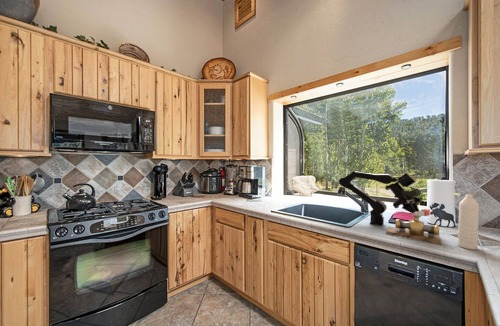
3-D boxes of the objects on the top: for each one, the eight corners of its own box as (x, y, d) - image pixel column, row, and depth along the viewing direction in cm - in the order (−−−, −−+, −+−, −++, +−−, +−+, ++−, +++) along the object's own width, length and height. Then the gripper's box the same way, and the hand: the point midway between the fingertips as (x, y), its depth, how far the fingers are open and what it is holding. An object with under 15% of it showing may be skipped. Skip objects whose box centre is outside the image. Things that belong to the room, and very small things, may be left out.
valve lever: (418, 218, 111) (418, 212, 111) (411, 216, 113) (411, 211, 113) (430, 215, 116) (430, 210, 116) (423, 214, 119) (423, 208, 119)
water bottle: (475, 246, 101) (477, 194, 100) (479, 251, 96) (481, 196, 95) (450, 241, 106) (452, 192, 105) (452, 246, 101) (454, 194, 100)
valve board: (385, 233, 117) (386, 231, 117) (388, 228, 126) (388, 226, 125) (440, 244, 103) (440, 241, 103) (439, 238, 111) (439, 235, 111)
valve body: (395, 231, 116) (395, 215, 116) (396, 228, 121) (396, 213, 121) (439, 239, 105) (439, 221, 105) (438, 236, 110) (438, 218, 110)
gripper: (399, 184, 116) (421, 209, 107) (420, 183, 123) (442, 206, 114) (384, 196, 124) (403, 220, 114) (405, 193, 131) (424, 216, 121)
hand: (419, 215), depth 116 cm, fingers closed, pressing on valve lever
